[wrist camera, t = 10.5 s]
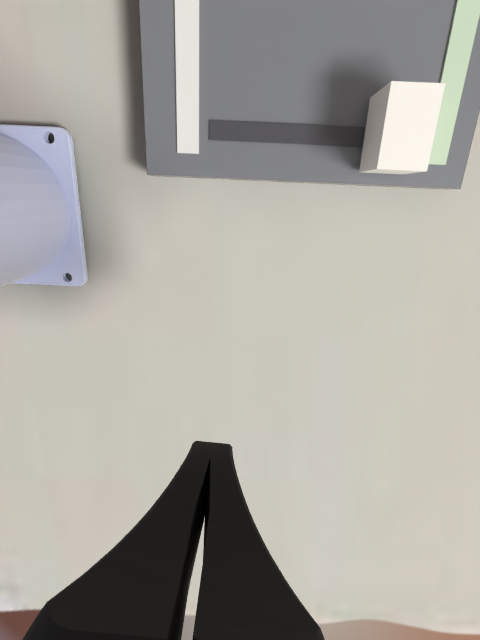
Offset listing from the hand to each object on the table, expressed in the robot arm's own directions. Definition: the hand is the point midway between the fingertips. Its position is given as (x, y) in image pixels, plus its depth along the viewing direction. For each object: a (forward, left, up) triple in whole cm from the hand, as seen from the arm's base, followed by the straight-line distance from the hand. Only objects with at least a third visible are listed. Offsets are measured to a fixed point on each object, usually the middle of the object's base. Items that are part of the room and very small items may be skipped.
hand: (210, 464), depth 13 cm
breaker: (+7, +12, -8) cm, 16 cm away
